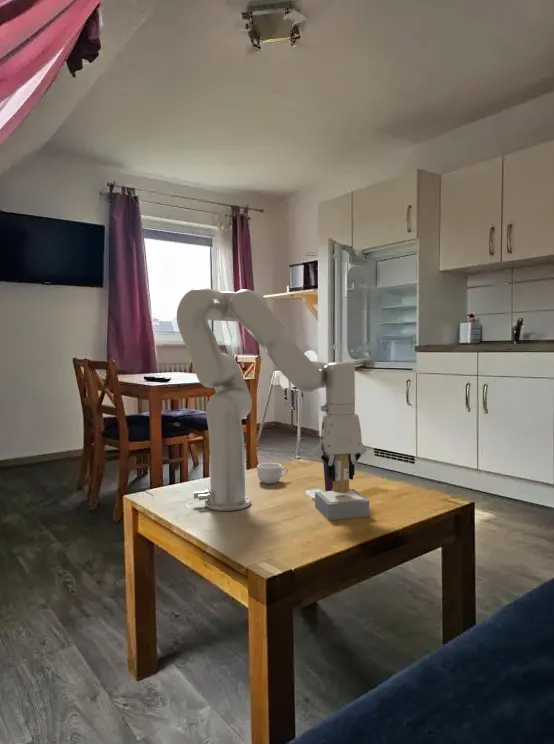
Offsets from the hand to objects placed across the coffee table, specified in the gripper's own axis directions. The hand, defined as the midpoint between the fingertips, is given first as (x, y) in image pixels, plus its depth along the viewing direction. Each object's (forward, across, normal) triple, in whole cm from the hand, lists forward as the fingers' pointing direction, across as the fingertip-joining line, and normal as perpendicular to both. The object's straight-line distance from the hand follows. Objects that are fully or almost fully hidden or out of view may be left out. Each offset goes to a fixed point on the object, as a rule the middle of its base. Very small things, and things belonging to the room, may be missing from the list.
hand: (340, 478), depth 134 cm
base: (+9, 0, 0) cm, 9 cm away
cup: (+9, +3, +14) cm, 17 cm away
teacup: (+9, -11, +33) cm, 36 cm away
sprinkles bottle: (+4, 0, 0) cm, 4 cm away
